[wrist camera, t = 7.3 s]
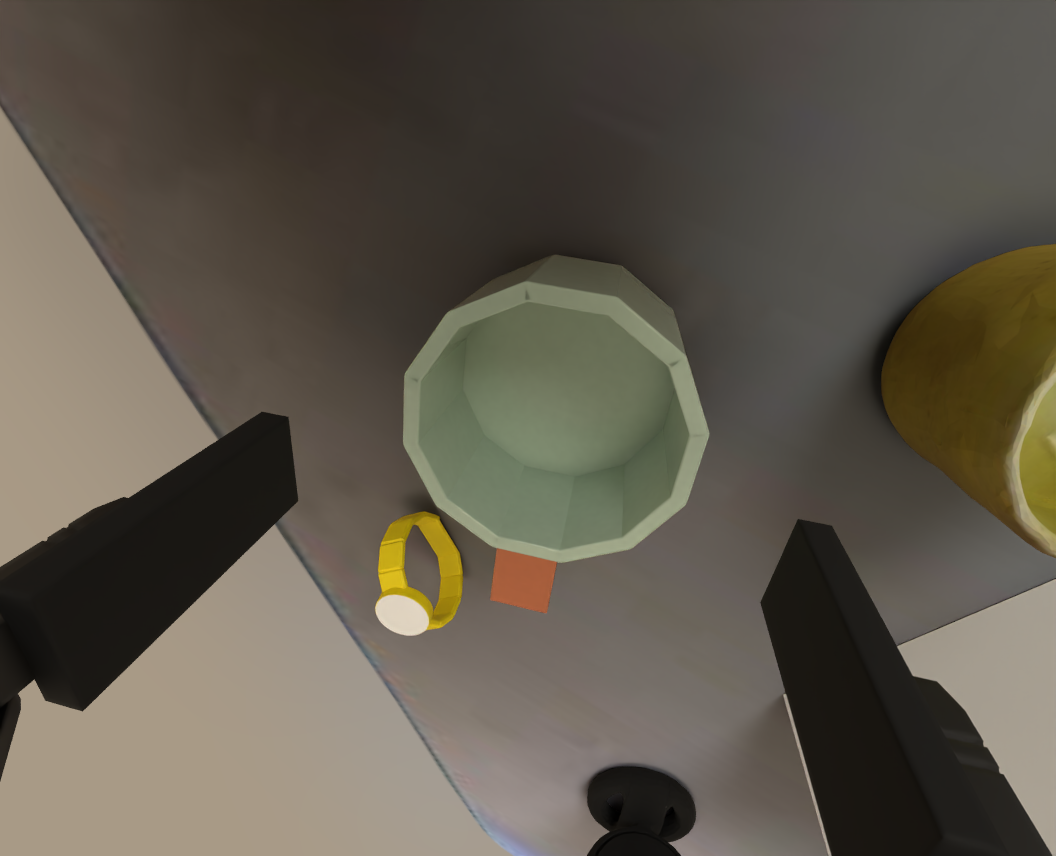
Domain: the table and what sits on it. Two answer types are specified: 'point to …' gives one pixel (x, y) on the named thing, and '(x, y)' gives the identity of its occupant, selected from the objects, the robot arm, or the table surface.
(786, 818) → the table surface
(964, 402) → the mug
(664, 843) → the webcam
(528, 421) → the pale green cup
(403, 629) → the watch
